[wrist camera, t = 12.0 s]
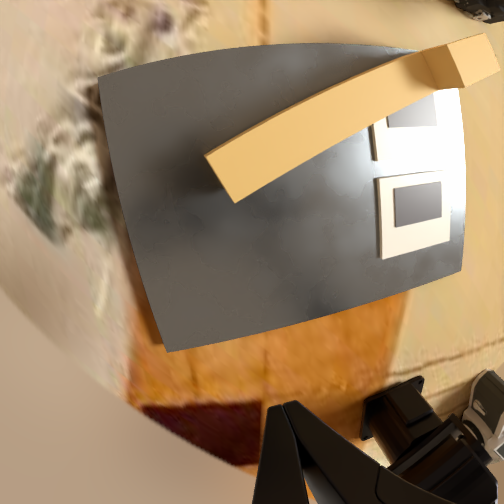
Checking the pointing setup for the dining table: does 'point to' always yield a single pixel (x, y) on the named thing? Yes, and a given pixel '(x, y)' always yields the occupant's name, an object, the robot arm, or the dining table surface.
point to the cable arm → (345, 112)
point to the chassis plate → (259, 194)
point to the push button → (483, 9)
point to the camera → (487, 413)
